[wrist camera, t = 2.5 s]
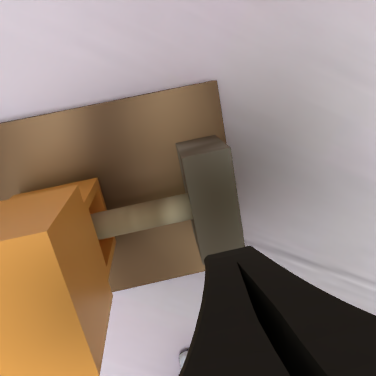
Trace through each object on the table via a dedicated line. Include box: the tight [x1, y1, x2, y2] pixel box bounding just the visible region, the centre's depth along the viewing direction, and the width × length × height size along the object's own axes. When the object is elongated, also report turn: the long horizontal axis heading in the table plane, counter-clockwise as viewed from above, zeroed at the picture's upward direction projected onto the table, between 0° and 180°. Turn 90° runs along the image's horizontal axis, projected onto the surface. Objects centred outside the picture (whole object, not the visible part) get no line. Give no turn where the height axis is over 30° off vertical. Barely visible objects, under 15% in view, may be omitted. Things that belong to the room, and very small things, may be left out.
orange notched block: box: [0, 178, 116, 376], centre depth 13 cm, size 4×5×8 cm
